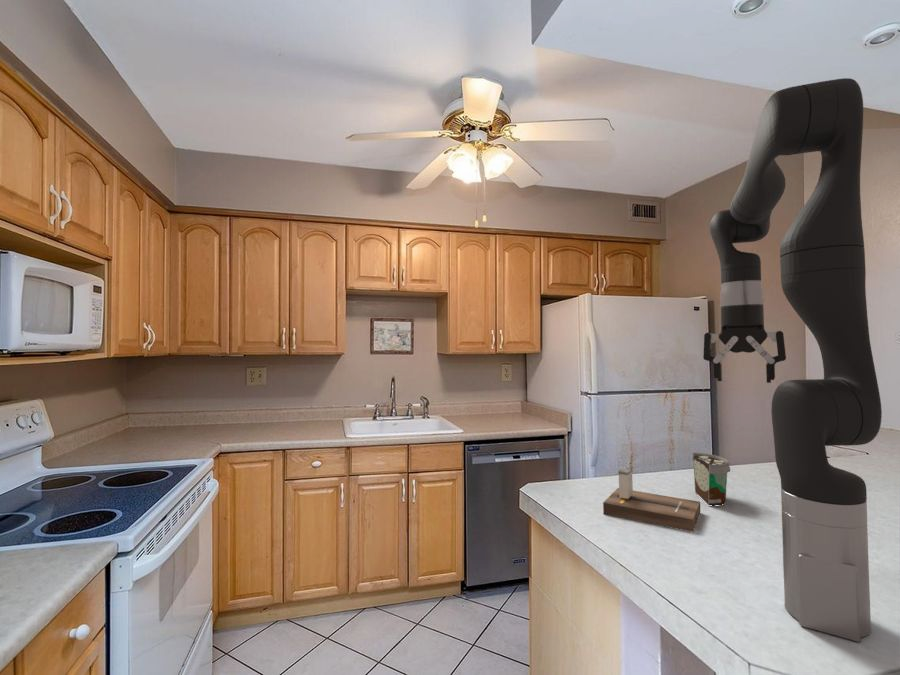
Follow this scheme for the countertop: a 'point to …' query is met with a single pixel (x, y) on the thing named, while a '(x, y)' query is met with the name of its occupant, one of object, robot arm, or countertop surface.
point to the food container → (710, 477)
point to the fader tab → (625, 482)
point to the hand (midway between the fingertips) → (743, 381)
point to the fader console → (654, 509)
